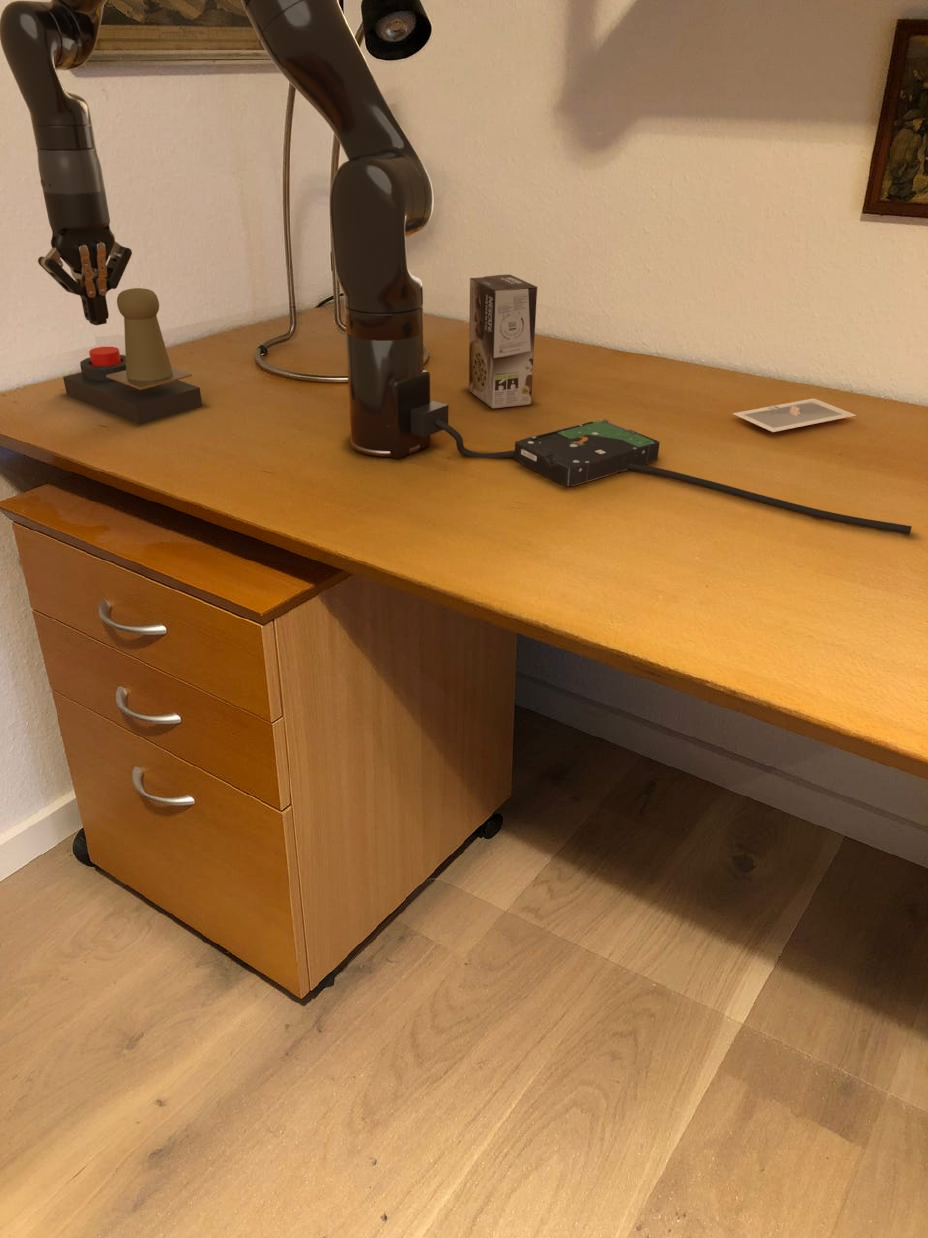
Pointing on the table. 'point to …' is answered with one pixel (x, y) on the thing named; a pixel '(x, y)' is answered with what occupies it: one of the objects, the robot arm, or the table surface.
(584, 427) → the disk drive
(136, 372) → the olive pawn piece
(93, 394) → the machine
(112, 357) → the button
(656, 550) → the table surface
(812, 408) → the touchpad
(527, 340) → the coffee box
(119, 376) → the plate
